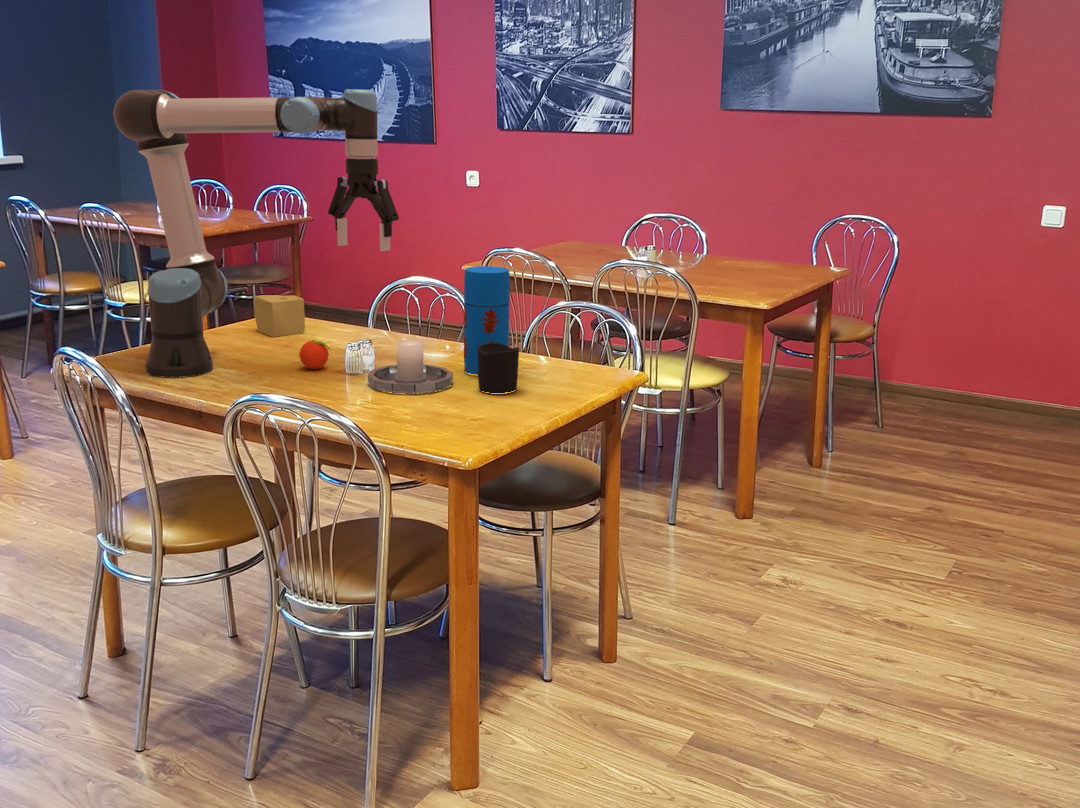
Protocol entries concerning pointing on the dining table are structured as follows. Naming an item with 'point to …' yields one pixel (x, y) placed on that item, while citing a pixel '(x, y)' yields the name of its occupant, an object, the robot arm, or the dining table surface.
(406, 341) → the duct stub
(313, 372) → the dining table surface
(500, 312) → the thermos
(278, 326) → the cheese
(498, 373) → the pen holder
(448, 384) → the round tray
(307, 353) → the clementine
